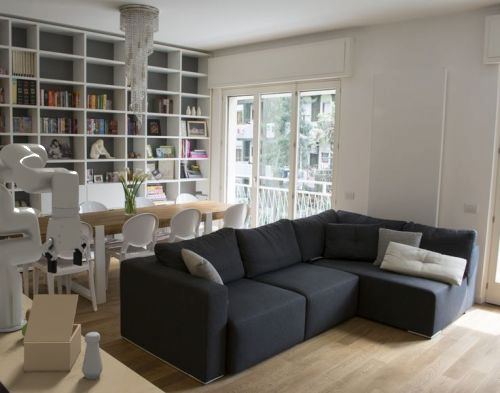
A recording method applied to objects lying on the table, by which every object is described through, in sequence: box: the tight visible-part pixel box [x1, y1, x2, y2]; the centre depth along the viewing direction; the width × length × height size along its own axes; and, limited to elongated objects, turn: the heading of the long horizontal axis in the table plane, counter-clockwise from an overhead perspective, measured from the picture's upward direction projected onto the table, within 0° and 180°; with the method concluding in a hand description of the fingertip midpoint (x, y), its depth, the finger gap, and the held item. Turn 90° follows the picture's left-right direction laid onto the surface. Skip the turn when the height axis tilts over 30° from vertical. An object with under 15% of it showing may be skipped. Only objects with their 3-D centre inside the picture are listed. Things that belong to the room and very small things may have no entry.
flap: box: [22, 293, 79, 343], centre depth 147 cm, size 15×13×1 cm
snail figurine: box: [21, 300, 33, 337], centre depth 166 cm, size 5×6×12 cm
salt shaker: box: [81, 331, 104, 381], centre depth 141 cm, size 6×6×13 cm
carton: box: [23, 323, 82, 373], centre depth 150 cm, size 14×13×9 cm
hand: (65, 268), depth 146 cm, fingers open, 9 cm apart
